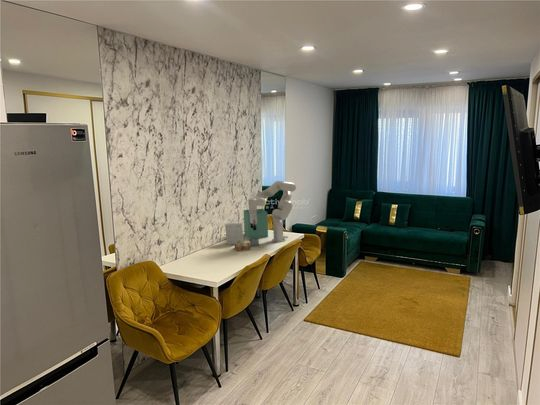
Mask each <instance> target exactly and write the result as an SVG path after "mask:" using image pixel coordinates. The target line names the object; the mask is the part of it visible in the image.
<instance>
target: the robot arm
mask: <svg viewBox="0 0 540 405" xmlns="http://www.w3.org/2000/svg"><path fill="white" fill-rule="evenodd" d="M296 189H297V186H296V184H295V183H293V182H289V181H288V182H287V181H283V180H282V181H281V180H277V181H275V182H273V184H271V185H270V186H269V187H268V188H266V189H264V190H262V191H260V192H258V193H257V194H256V195H254V197H253V198H248V210H249V213H250V222H251V228H253V230H256V224H257V215H256V213H257V209H258V206H259V207H260V206H261V207H262V206H265V204H266V200H265V198H270V197H273V196H274V195H275V194H276V193H278V192H279V191H283V192H282V193H283V194H282V195H281V198H280V200H279V201H278V204H277V206H278V207H277V208H275V209H273V210H272V213H271V217H272V224H273V226H272V228H273V229H272V230H273V232H272V233H273V238H272V240H271V241H272V242H275V243H281V242H285V240H286V239H288V238H289V237H288V235H284V222H283V221H285V220H287V218H288V217H289V215H290V214H291V211H292V209H293V203H292V201H291V198H292V192H295V191H296Z"/></svg>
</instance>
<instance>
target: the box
mask: <svg viewBox="0 0 540 405" xmlns="http://www.w3.org/2000/svg"><path fill="white" fill-rule="evenodd" d="M256 215H257V224H256V230H253V228H251V222H250V213H249V209H244V210H243V225H244V226H243V228H244V229H243V230H244V233H243V235H244V236H245V237H246V238H247V239H256V238H257V239H262V238H269V226H268V225H269V222H268V220H269V219H268V212H267V211H266V210H265V209H264V208H257V213H256Z"/></svg>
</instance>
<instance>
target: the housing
mask: <svg viewBox="0 0 540 405" xmlns="http://www.w3.org/2000/svg"><path fill="white" fill-rule="evenodd" d="M248 243H249V246H250V248H252V247H259V245H260V240H259V238H253V239H249V241H248Z"/></svg>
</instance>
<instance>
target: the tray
mask: <svg viewBox="0 0 540 405" xmlns="http://www.w3.org/2000/svg"><path fill="white" fill-rule="evenodd" d="M248 243H249V242H248ZM248 243H246V242H243V243H239V244H234V249H235V250H236V251H237V252H244V250H245V251H250V250H251V246H250V244H249V245H248Z"/></svg>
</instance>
